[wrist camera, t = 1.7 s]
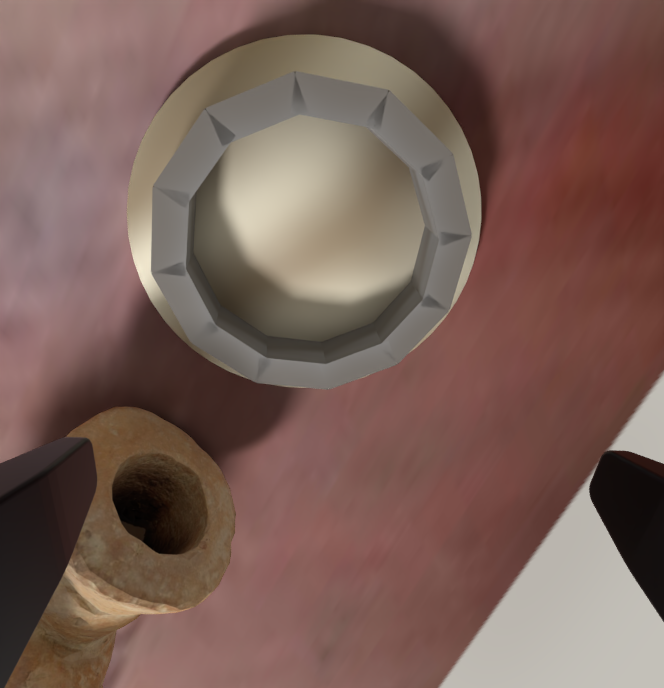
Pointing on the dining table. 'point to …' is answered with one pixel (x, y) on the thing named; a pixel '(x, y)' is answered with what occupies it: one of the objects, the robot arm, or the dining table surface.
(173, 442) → the pipe
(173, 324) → the holder ring
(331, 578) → the dining table surface
